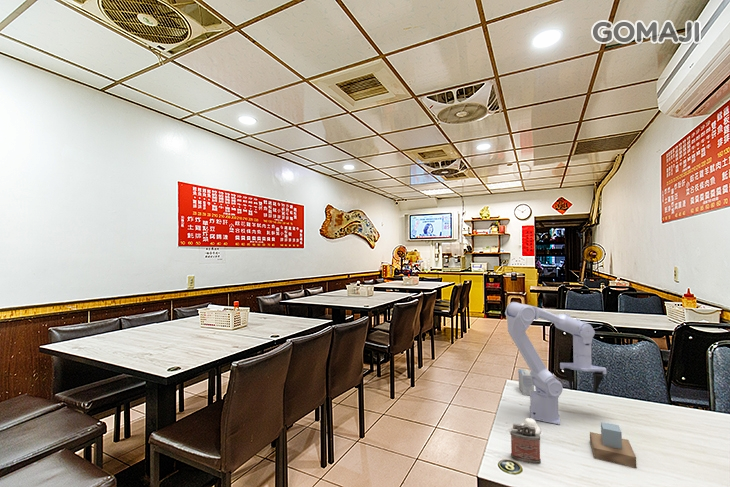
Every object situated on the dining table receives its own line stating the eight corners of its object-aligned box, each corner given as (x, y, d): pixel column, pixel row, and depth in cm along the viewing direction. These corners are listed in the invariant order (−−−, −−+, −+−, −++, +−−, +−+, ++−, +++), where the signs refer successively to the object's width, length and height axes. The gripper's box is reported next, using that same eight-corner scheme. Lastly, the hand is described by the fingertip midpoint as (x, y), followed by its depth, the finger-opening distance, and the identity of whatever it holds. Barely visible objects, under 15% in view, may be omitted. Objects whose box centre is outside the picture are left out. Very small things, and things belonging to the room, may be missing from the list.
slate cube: (603, 445, 101) (603, 428, 101) (601, 438, 105) (600, 421, 105) (622, 449, 99) (621, 432, 99) (619, 441, 103) (618, 425, 103)
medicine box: (534, 396, 143) (533, 375, 143) (523, 395, 144) (522, 375, 144) (529, 388, 151) (528, 369, 151) (518, 388, 151) (518, 368, 152)
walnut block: (594, 458, 100) (593, 447, 100) (589, 441, 109) (589, 431, 109) (636, 468, 95) (636, 457, 95) (628, 449, 104) (628, 439, 104)
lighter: (539, 458, 100) (539, 424, 100) (541, 465, 96) (541, 430, 97) (510, 453, 102) (509, 420, 103) (511, 460, 99) (510, 425, 99)
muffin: (521, 443, 108) (520, 421, 108) (519, 433, 113) (519, 412, 114) (542, 447, 106) (542, 424, 106) (539, 437, 111) (539, 415, 112)
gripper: (561, 354, 125) (562, 391, 125) (608, 359, 119) (609, 398, 119) (559, 349, 132) (559, 384, 131) (603, 353, 126) (604, 390, 125)
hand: (583, 390), depth 126 cm, fingers open, 7 cm apart
